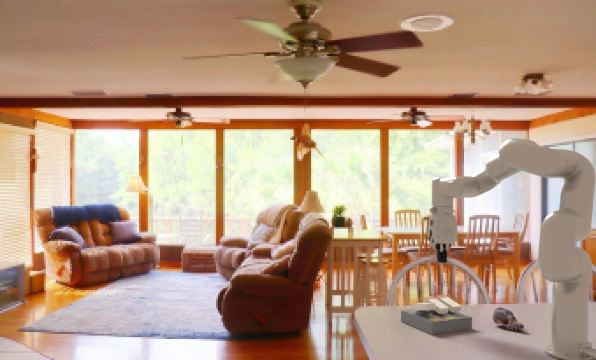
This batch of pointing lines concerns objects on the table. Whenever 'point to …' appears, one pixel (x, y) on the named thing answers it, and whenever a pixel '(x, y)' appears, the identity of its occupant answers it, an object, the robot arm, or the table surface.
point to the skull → (506, 319)
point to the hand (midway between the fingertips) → (442, 262)
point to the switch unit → (436, 321)
